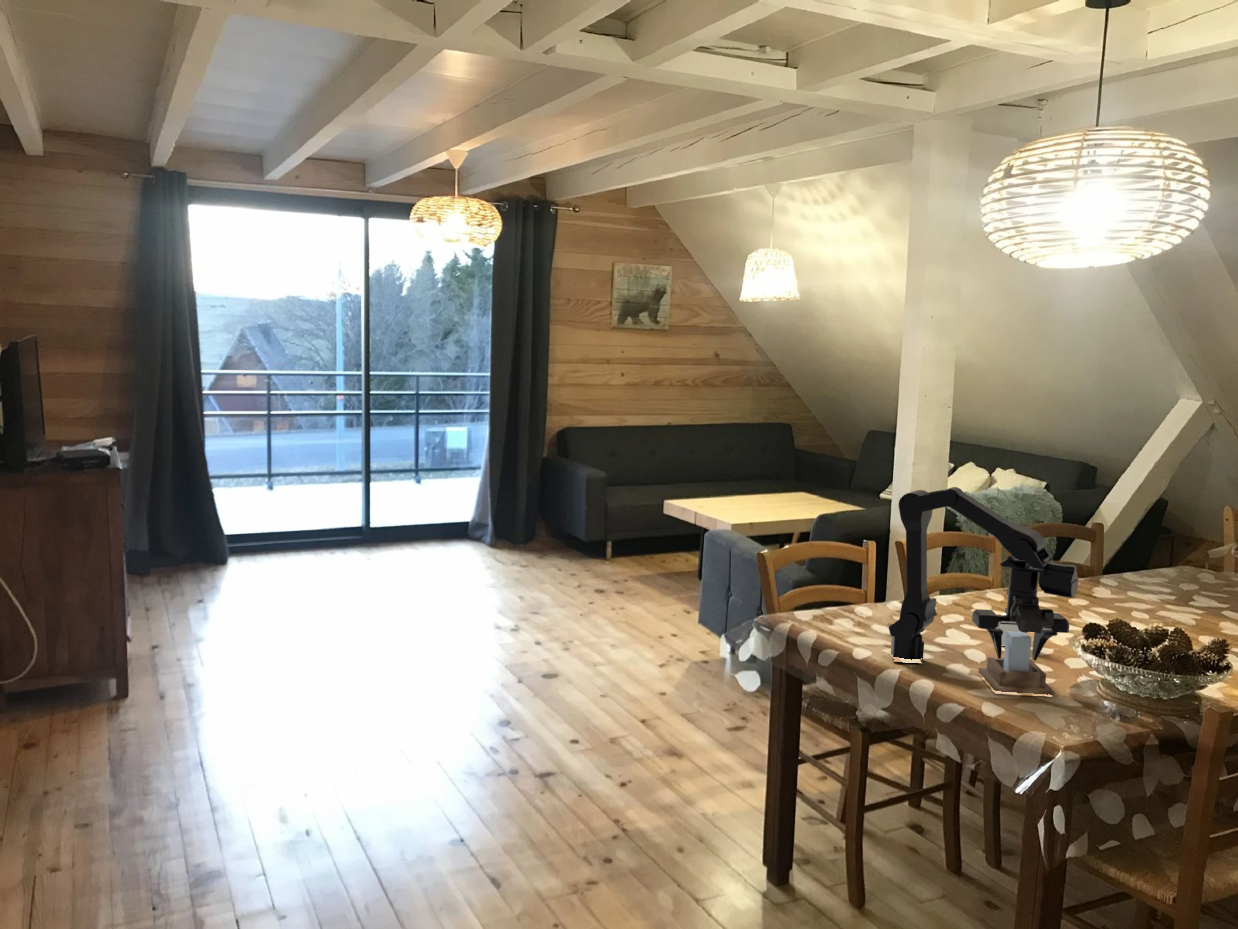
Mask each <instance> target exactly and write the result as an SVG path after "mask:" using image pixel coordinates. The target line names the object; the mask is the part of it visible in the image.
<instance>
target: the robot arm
mask: <svg viewBox="0 0 1238 929" xmlns="http://www.w3.org/2000/svg"><path fill="white" fill-rule="evenodd" d="M947 507H948V508H951V509H952V510H953V511H955V512H956V513H958V514H959V515H961V516H963V518H966V519H967V520H969V521H970V522H972V523H974V524H975V525H977V526H978V527H979V528H981V529H982V530H984V531H986V532H987V533H989V534H990V535H991V536H993V537H994V538H995V539H996V540H997V541H998V542H999V543H1000V545H1001V546H1002V548H1004V549H1005V550H1006V551H1007V552H1008V553H1009V554H1010V555H1008V556H1007V557H1006V558H1005V560H1004V561H1002V562H1000V563H999V565H1000V566H1001V567H1005V568H1009V579H1008V581H1009V582H1008V588H1007V589H1006V595H1007V600H1006V602H1007V603H1006V607H1004V613H1006V615H1001V614H996V613H995V612H994V610H992V609H981V608H980V609H979V608H976V609H975V610H974V611H973V612H972V616H971V622H973V623H974V625H975V626H976V628H978V629H983V630H986V631H987V632H988V633H989V635H990V637H991V640H992V643H993V647H994V650H995V654H996V656H997V657H996V658H999V659H1001V658H1002V653H1003V652H1002V651H1003V650H1002V648H1003V647H1002V634H1003V631H1002V630H1001V629H1000V626H1001V624H1010V625H1017V626H1018V629H1019V631H1021V632H1023V633H1033V644H1032V661H1033V662H1035V661H1037V660H1038V657H1039V656H1040V655H1041V654H1040V653H1041V652H1042V649H1043V648H1044V646H1045V644H1047V641H1048V640H1049V639H1051V638H1052V637H1054V636H1055V637H1056V636H1058V635H1059V634H1058V633H1061V634H1062V633H1064V634H1068V633H1069V632H1070V621H1069V620H1068V619H1067V618H1066V617H1065V616H1063V615H1062V614H1061V613H1059V612H1054V610H1053V609H1050V608H1049V609H1048V608H1046V609H1045V608H1040V605H1039V604H1040V603H1039V601H1040V600H1039V597H1038V588H1040V590H1041V591H1042V592H1043V594H1047V595H1051V596H1052V595H1053V596H1056V597H1057V596H1058V597H1064V598H1069V599H1075V597H1076V595H1077V591H1078V587H1079V579H1078V578H1079V577H1078V572H1077V568H1078V567H1077V565H1076V564H1064V563H1056V562H1054V560H1053V559H1054V558H1052V556H1051V555H1050V553H1049V552H1048V551H1047V548H1046V547H1045V541H1044V537H1043V536H1042V534H1041V533H1040V532H1038V531H1037V530H1034V529H1032V528H1030V527H1027V526H1025V525H1023V524H1018V523H1015V522H1013V521H1010V520H1008V519H1007V518H1005V517H1003V516H1001V515H1000V514H998V513H997V512H996V511H993V510H992V509H990V508H988V507H987V506H986V505H984V504H983V503H981V502H980V501H978V500H976V499H975V498H974V497H972V496H970V495H969V494H967V492H966V493H965V492H964V491H963V490H962V489H961V488H960V487H957V486H951V487H948V488H945V489H941V490H934V491H930V492H928V491H926V490H923V489H917V490H914V491H910V492H906V493H905V494H903V495H902V496H901V497H900V499H899V500H898V511H899V516H900V521H901V523H902V526H903V528H904V529H905V560H906V562H905V564H906V565H905V566H906V567H905V570H906V572H905V573H906V574H905V576H906V577H905V579H906V580H905V581H906V583H905V584H906V588H905V590H906V591H905V594H904V597H903V600H902V603H901V606H900V607H901V608H900V612H899V619H898V620H897V621H895V622H893V623H892V624H891V625H889V626H888V630H889V635H890V636H891V645H890V652H891V654H892V655H893V657H899V658H904V659H911V660H912V659H921V658H922V660H923V659H924V652H925V642H924V641H923V635H922V634H921V633H923V632H924V631H925V630H926V628H927V627H929V626H930V625H931V624H932V623H933V622H934V620H935V617H937V615H938V613H937V611H936V605H937V598H931V596H930V595H929V593H928V572H927V571H928V554H927V553H928V546H927V545H928V544H927V543H928V541H927V539H928V538H927V536H928V535H927V534H928V533H927V531H928V527H929V524H930V522H931V520H932V515H933V510H937V509H942V508H947ZM1038 586H1039V587H1038Z"/></svg>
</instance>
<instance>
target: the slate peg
mask: <svg viewBox="0 0 1238 929" xmlns="http://www.w3.org/2000/svg"><path fill="white" fill-rule="evenodd" d="M1027 633H1028V632H1027ZM1027 633H1023V632H1010V631H1006V641H1005V647H1004V653H1003V654H1004V655H1003V658H1004V664H1003V669H1004V670H1005V671H1022V672H1029V661H1030V659H1031V648H1032V637H1031V636H1030V635H1029V634H1027Z"/></svg>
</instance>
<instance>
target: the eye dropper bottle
mask: <svg viewBox="0 0 1238 929" xmlns="http://www.w3.org/2000/svg"><path fill="white" fill-rule="evenodd" d="M1000 615H1006V613H1005V612H1003V613H1001V614H1000ZM1000 629H1001V630H1002V631H1003V634H1002V645H1003V646H1005V641H1006V631H1010V632H1021V631H1019V629H1018V626H1017V625H1010V624H1001V626H1000Z"/></svg>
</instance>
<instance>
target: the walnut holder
mask: <svg viewBox="0 0 1238 929" xmlns="http://www.w3.org/2000/svg"><path fill="white" fill-rule="evenodd" d="M1003 664H1004V657H1001V659H999V658H998V657H987V661H986V667H985V668H984V667H979V668H978V673H980V674H981V675H982V676H983V677H984V678H985V680H986V681H987V682H988V683H989V684H990V686H991V687H992V688H993V690H995V691H1001V692H1017V693H1034V694H1047V695H1048V694H1050V695H1053V696H1054V690H1053V688H1052V687H1051V686H1049V685H1048V683H1047V674H1046V672H1044V671H1043V670H1042V669H1041V668H1040V666H1038V665H1037V664H1036V662H1035V661H1034V660H1033V659H1031V658H1030V661H1029V672H1022V671H1005V670H1004V669H1003Z"/></svg>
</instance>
